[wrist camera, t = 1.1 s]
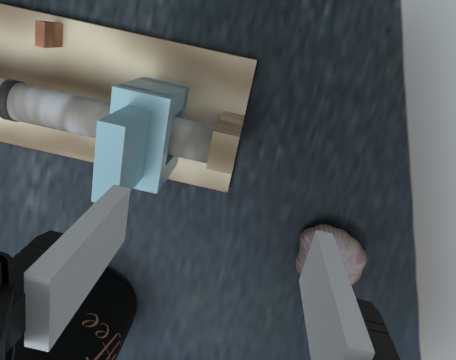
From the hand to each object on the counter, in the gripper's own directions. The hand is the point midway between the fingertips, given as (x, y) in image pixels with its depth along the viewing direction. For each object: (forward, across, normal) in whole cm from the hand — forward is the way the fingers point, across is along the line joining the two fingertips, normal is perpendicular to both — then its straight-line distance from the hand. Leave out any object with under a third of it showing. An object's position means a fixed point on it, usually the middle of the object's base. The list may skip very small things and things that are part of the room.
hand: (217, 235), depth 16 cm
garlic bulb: (+22, -12, +11) cm, 27 cm away
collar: (+17, +7, 0) cm, 18 cm away
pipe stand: (+21, +13, 0) cm, 25 cm away
